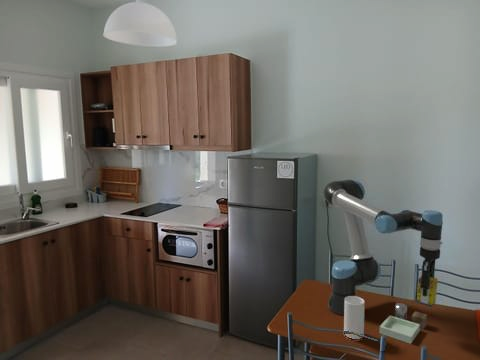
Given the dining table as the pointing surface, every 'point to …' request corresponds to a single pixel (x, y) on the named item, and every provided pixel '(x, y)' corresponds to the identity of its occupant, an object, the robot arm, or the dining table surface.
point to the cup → (354, 316)
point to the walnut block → (420, 319)
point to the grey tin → (401, 311)
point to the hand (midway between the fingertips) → (426, 299)
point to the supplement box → (431, 292)
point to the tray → (399, 329)
